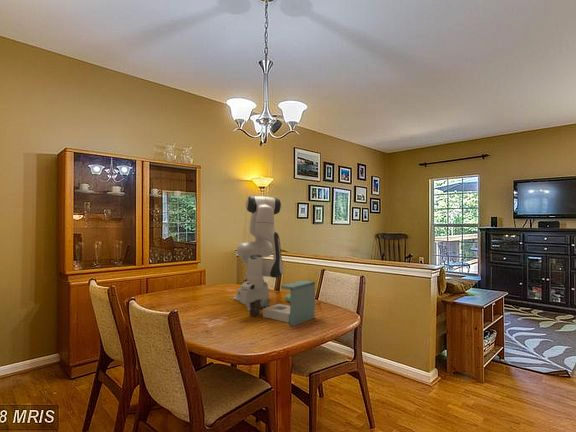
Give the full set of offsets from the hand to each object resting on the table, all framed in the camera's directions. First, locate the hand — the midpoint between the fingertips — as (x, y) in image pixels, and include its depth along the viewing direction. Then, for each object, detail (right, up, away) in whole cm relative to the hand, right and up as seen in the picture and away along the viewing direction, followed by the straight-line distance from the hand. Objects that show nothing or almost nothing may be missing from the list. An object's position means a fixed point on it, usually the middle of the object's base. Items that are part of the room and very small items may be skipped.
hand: (254, 308), depth 192 cm
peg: (0, -4, 0) cm, 4 cm away
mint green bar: (+24, -5, +26) cm, 35 cm away
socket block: (+16, -4, -2) cm, 16 cm away
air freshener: (+2, -4, +20) cm, 20 cm away
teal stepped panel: (+24, -4, -8) cm, 26 cm away
